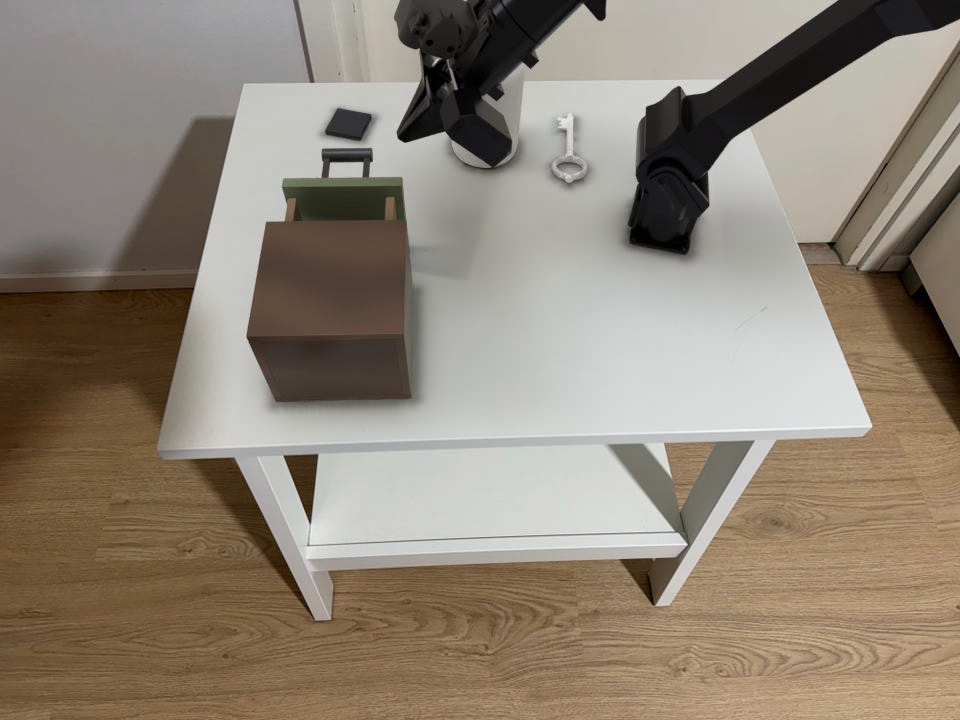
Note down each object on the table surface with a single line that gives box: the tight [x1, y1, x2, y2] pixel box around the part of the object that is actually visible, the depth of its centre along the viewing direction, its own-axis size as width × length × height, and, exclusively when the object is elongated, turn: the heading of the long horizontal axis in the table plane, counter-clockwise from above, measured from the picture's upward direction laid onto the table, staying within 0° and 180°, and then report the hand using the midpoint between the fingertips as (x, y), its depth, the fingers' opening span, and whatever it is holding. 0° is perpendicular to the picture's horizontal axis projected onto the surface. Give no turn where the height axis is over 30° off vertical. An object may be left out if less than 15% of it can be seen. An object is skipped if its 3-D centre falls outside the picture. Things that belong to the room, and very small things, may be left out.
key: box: [551, 112, 589, 184], centre depth 84 cm, size 12×1×4 cm
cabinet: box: [245, 219, 414, 403], centre depth 64 cm, size 13×13×11 cm
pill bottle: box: [451, 63, 526, 169], centre depth 78 cm, size 8×8×15 cm
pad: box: [324, 107, 372, 141], centre depth 86 cm, size 4×4×1 cm
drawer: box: [281, 147, 407, 221], centre depth 70 cm, size 17×11×9 cm
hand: (400, 138), depth 67 cm, fingers closed
